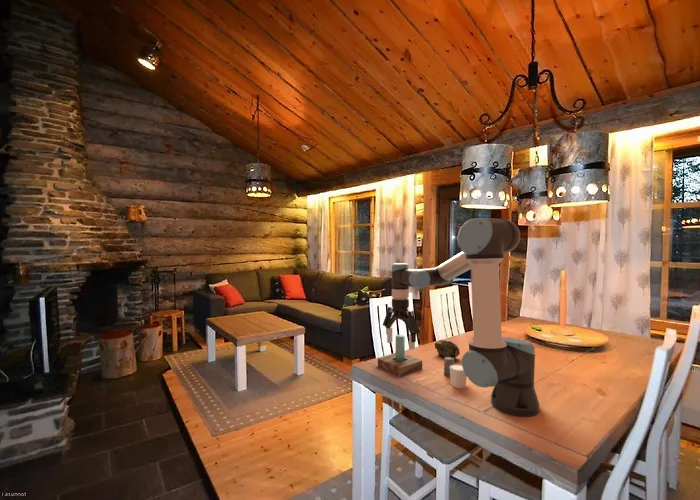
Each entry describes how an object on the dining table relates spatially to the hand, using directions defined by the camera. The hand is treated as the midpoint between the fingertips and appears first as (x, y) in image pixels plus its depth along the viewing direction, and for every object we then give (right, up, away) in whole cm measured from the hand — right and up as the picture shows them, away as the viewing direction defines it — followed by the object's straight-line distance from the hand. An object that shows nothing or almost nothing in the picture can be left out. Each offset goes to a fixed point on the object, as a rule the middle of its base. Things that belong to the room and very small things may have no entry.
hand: (400, 345), depth 154 cm
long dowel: (0, -10, +1) cm, 10 cm away
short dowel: (+19, -10, -8) cm, 23 cm away
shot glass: (+20, -11, -17) cm, 29 cm away
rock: (+25, -10, +14) cm, 30 cm away
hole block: (0, -10, +1) cm, 10 cm away
